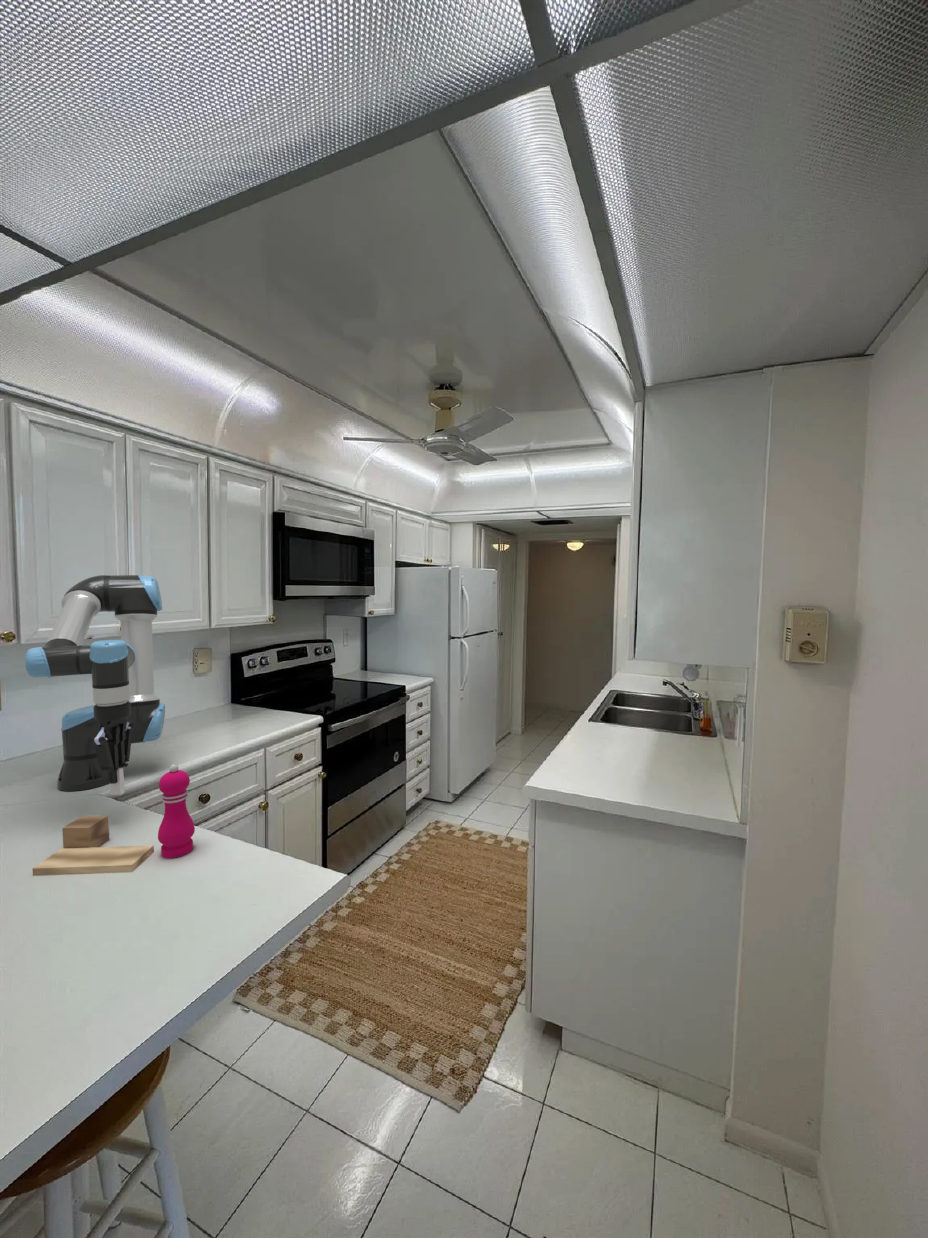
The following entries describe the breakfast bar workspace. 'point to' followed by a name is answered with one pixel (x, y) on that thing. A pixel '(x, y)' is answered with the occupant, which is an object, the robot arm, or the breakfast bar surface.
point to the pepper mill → (175, 815)
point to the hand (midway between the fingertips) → (117, 793)
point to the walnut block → (86, 832)
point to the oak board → (94, 860)
